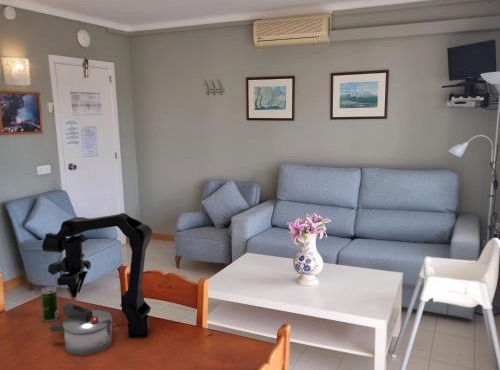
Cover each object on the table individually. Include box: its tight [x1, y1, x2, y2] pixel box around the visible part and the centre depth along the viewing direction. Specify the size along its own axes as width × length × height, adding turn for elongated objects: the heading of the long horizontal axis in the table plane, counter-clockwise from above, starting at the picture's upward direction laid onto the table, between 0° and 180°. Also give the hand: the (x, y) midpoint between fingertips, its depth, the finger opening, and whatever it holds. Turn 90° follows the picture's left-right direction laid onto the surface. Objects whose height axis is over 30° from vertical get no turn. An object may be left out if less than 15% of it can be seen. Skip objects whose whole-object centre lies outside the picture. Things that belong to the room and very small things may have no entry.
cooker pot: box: [49, 323, 113, 356], centre depth 150 cm, size 20×15×7 cm
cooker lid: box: [62, 302, 113, 334], centre depth 150 cm, size 19×16×4 cm
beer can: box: [40, 286, 59, 322], centre depth 168 cm, size 5×5×12 cm
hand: (76, 294), depth 159 cm, fingers open, 4 cm apart
